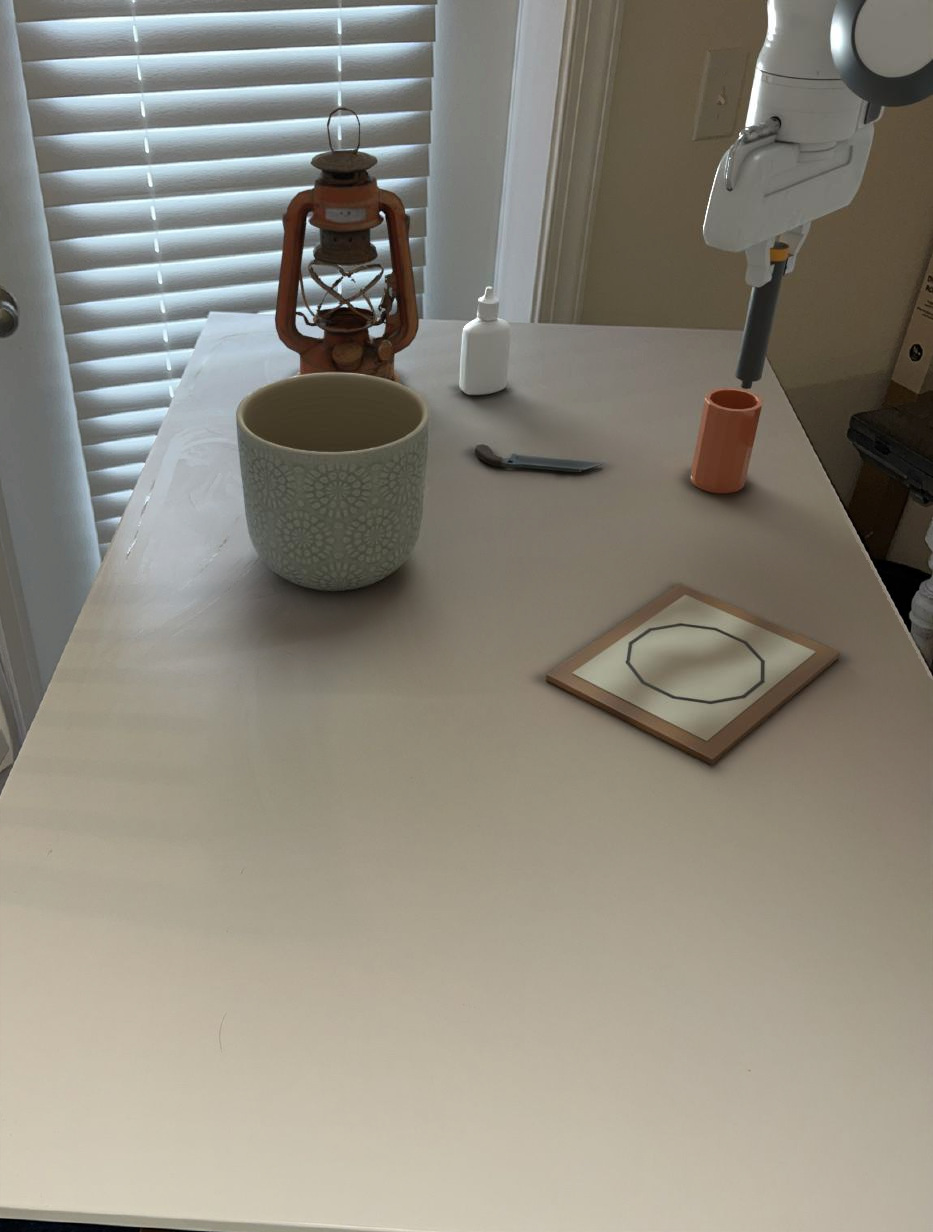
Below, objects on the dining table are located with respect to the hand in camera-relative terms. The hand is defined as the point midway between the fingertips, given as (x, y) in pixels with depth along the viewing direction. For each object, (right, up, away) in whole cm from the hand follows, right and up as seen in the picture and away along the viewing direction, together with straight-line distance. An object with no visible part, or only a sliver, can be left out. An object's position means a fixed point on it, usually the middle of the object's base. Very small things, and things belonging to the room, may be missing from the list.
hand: (768, 279), depth 112 cm
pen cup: (+1, -14, +19) cm, 24 cm away
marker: (0, -8, +7) cm, 10 cm away
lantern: (-38, +3, +39) cm, 55 cm away
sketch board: (-9, -36, -7) cm, 37 cm away
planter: (-39, -25, +7) cm, 47 cm away
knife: (-17, -11, +23) cm, 30 cm away
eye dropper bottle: (-22, +2, +38) cm, 44 cm away
